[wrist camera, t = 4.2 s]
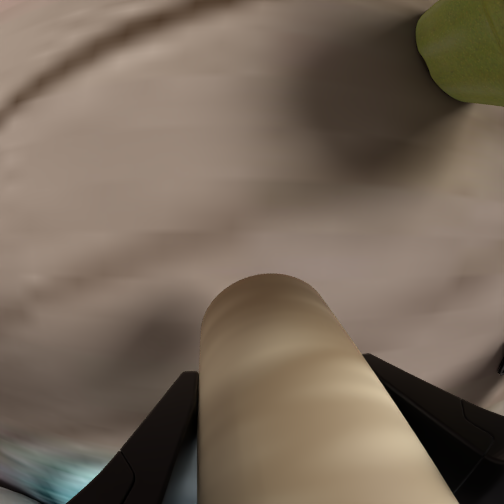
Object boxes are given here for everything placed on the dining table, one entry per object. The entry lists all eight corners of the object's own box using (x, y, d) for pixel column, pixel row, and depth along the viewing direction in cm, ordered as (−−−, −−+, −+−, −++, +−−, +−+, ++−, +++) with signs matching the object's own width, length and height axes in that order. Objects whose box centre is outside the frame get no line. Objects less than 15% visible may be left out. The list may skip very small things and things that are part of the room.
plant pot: (376, 86, 13) (508, 49, 5) (394, -36, 10) (479, -96, 2) (490, 152, 15) (599, 171, 6) (498, 38, 12) (587, 24, 4)
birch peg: (334, 269, 10) (508, 465, 2) (322, 375, 11) (405, 557, 4) (195, 277, 9) (172, 562, 2) (206, 386, 11) (216, 597, 3)
